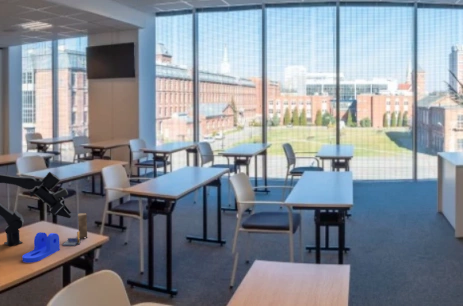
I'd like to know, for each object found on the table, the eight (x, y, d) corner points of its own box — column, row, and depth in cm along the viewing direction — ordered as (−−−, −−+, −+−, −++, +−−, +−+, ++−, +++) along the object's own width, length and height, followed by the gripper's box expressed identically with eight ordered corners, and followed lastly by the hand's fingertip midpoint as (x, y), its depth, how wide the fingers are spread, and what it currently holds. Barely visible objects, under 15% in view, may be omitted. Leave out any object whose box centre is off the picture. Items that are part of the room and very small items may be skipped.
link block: (79, 238, 230) (78, 215, 228) (78, 236, 234) (78, 213, 232) (87, 237, 231) (86, 214, 230) (87, 235, 235) (86, 213, 234)
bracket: (44, 248, 214) (43, 230, 213) (59, 250, 212) (58, 231, 211) (18, 262, 197) (17, 242, 196) (35, 263, 195) (33, 243, 194)
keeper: (62, 245, 218) (62, 233, 218) (67, 241, 224) (66, 230, 224) (78, 245, 218) (77, 233, 218) (82, 241, 224) (81, 230, 224)
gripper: (57, 186, 217) (82, 207, 222) (58, 180, 234) (81, 199, 239) (40, 204, 215) (65, 224, 220) (42, 196, 232) (66, 215, 237)
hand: (70, 215), depth 229 cm, fingers open, 9 cm apart
